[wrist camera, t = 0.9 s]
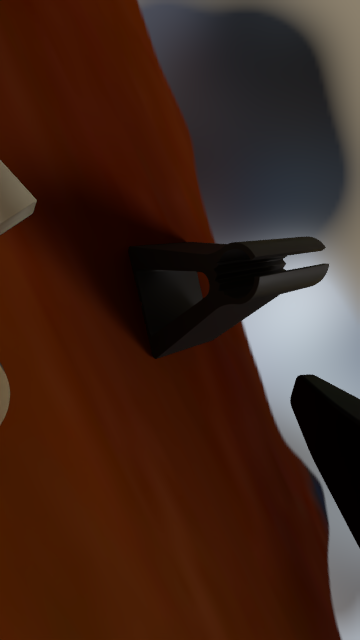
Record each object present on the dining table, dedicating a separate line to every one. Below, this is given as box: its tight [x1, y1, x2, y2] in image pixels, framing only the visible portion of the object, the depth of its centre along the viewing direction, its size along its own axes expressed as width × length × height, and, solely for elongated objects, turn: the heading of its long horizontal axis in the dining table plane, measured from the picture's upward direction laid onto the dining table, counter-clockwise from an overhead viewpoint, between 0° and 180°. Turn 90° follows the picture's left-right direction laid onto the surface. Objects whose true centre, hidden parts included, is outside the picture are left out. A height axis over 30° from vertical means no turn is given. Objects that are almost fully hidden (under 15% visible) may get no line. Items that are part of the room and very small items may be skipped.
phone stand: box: [129, 237, 329, 359], centre depth 19 cm, size 9×6×12 cm, turn 15°
